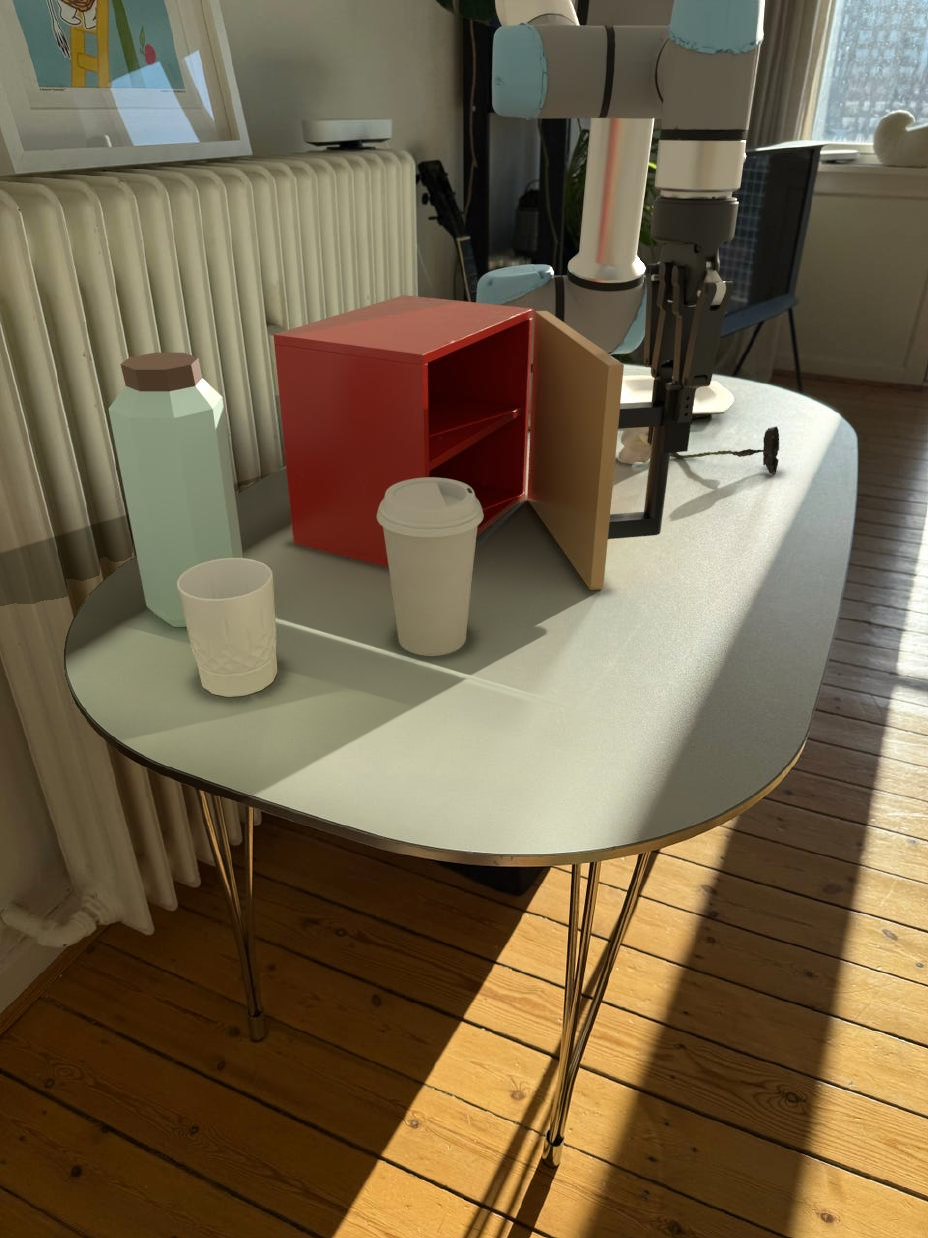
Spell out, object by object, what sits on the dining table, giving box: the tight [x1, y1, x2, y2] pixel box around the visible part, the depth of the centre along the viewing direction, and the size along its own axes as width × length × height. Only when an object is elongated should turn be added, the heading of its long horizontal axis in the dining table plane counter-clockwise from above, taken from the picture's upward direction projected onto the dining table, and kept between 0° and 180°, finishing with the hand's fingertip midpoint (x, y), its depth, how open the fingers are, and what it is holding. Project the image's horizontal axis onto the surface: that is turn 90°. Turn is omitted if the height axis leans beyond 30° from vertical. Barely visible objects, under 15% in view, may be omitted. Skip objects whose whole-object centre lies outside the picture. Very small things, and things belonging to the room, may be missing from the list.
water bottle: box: [108, 352, 244, 628], centre depth 86 cm, size 10×10×25 cm
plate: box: [620, 375, 735, 419], centre depth 156 cm, size 23×23×2 cm
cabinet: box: [272, 294, 533, 568], centre depth 106 cm, size 18×26×24 cm
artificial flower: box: [618, 426, 780, 475], centre depth 128 cm, size 9×22×10 cm, turn 67°
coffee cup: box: [377, 477, 484, 657], centre depth 83 cm, size 10×10×15 cm
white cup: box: [177, 557, 278, 698], centre depth 78 cm, size 8×8×10 cm
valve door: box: [526, 311, 671, 591], centre depth 101 cm, size 8×26×24 cm, turn 11°
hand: (667, 446), depth 92 cm, fingers open, 2 cm apart
